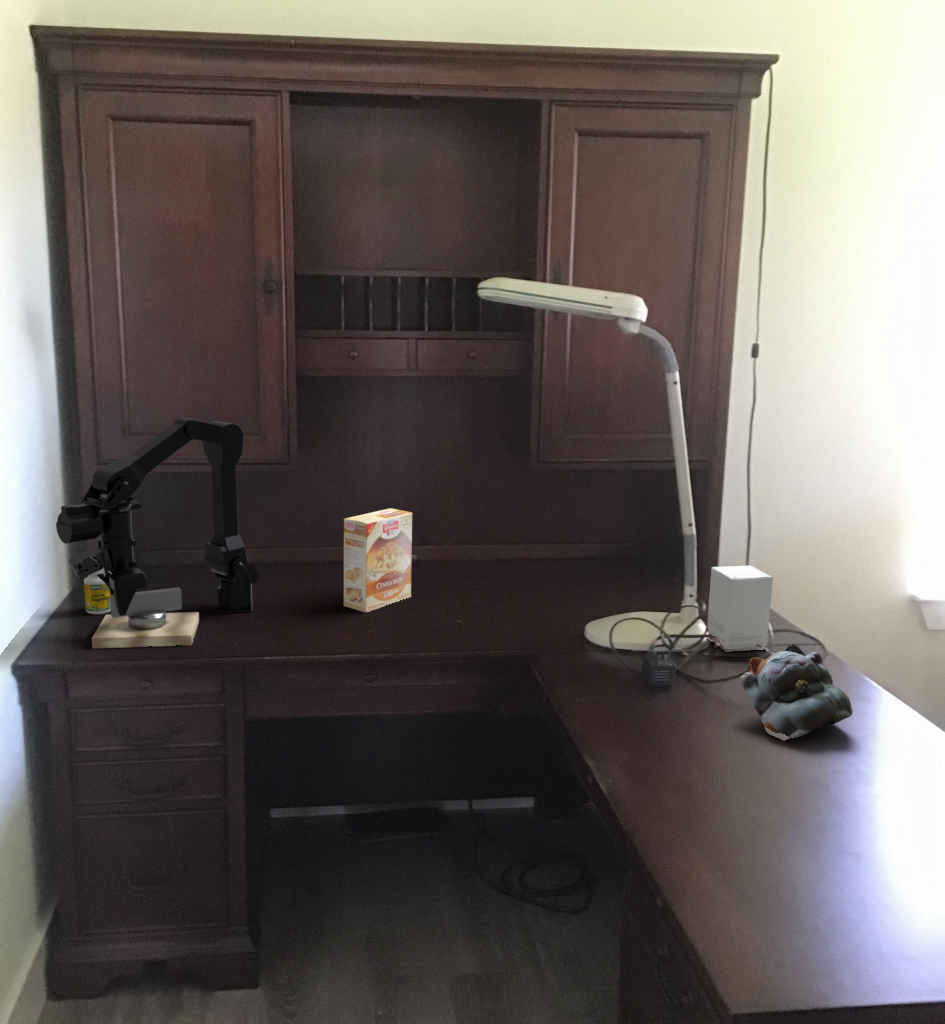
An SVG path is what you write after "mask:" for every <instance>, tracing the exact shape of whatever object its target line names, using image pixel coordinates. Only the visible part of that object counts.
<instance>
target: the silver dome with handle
mask: <svg viewBox="0 0 945 1024" xmlns="http://www.w3.org/2000/svg"><path fill="white" fill-rule="evenodd" d="M182 599H183V598H182V589H181V588H180V587H178V586H177V587H172V588H171V587H170V588H161V589H152V590H144V591H136V592H135V594H134V597H133V599H132V601H131V603H130V606H129V608H128V610H127V612H126V614H125V615H122V616H120V615H119V612H118V608H117V604H116V599H115V595H114V594H110V605H111V611H110V615H111V616H112V618H115V617H123V616H128V625H129V627H130V628H132V629H137V630H150V629H156V628H160V627H162V626H164V625H165V624H166V613H167V612H171V611H172V612H173V611H178V610H179V611H180V610H183V602H182V601H183V600H182Z"/></svg>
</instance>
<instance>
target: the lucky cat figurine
mask: <svg viewBox="0 0 945 1024" xmlns="http://www.w3.org/2000/svg"><path fill="white" fill-rule="evenodd" d="M823 662H824V661H823V657H822V655H821V654H820V653H819V652H817V651H813V652H810V653H808V654H807V655H806V653H805V652H804V651H802V649H801V648H800V647H799V646H797V645H796V644H794V643H792V644H789V645H788V646H787V647H786V648H785V649H784V650H783V651H781V650H780V651H777V652H775V653H774V654H772V655H769V656H768V657H767V658H766V659H764V658H760V657H758V656H756V657H755V656H754V657H751V658H750V660H749V665H748V666H747V670H746V671H745V672H744V673H743V674H742V675H741V676H740V677H739V680H740V684H741V687H742V688H743V690H744V692H745V695H746V696H747V698H748V699H749V700H750V703H751V704H752V706H753V708H754V709H755V710H756V712H757V714H758V716H759V718H760V720H761V722H762V726H763V725H764V726H765V727H766V728H768V729H770V730H771V731H773V732H775V733H782V734H785V735H786V736H788V737H789V740H791V739H790V738H792V739H796V738H800V737H802V736H805V735H806V734H809V733H812V732H814V731H817V730H820V729H822V728H826V727H830V726H833V725H835V724H837V723H840V722H842V721H843V720H845V719H848V718H851V716H853V707H852V704H851V700H850V698H849V696H848V695H847V694H846V692H845V691H843V689H840V688H839V687H837V686H835V685H834V684H833V682H834V681H833V678H832V675H831V673H830V671H829V669H828V668H827V667H826V666H825V665H824V663H823Z"/></svg>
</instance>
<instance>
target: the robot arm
mask: <svg viewBox="0 0 945 1024" xmlns="http://www.w3.org/2000/svg"><path fill="white" fill-rule="evenodd" d="M244 439H245V436H244V431H243V429H242V428H241V427H239V425H237V424H235V423H230V422H224V421H219V420H212V421H209V422H203V421H198V420H197V419H194V418H189V417H184V416H183V417H179V418H177V419H175V420H174V421H173V423H172V424H171V425H169V426H168V427H167V428H165V429H164V430H162V432H160V433H158V434H157V435H156V436H155V437H153V438H152V439H150V440H149V441H148V442H146V443H144V445H143V446H141V447H139V448H138V449H137V450H136V451H134V453H132V454H130V455H128V456H127V457H125V458H124V457H123V458H121V459H119V460H118V459H117V460H114V461H112V462H109V463H108V464H105V465H104V466H102V467H99V468H98V469H97V470H96V471H95V472H94V473H93V475H92V482H91V484H90V486H89V488H88V489H87V490H86V493H85V494H84V496H83V497H82V499H81V501H80V504H75V505H74V504H73V505H72V504H71V505H70V504H68V505H67V504H65V505H62V506H60V510H61V512H60V513H59V514H58V516H57V520H56V523H55V528H56V532H57V536H58V538H59V539H60V541H61V542H62V543H63V544H73V543H77V542H78V543H79V542H84V541H88V540H89V541H90V540H93V539H97V540H95V541H96V544H95V546H96V547H94V548H90V549H88V550H85V551H83V552H81V553H79V554H77V555H74V556H73V557H70V558H69V559H68V562H69V565H70V567H71V568H72V571H73V573H74V576H76V577H77V578H78V580H84V579H85V578H87V577H88V576H89V575H91V574H93V573H95V572H97V571H99V570H101V574H98V575H97V576H98V577H99V578H100V579H101V580H102V581H103V582H105V584H106V585H107V586H108V589H109V592H110V594H114V595H115V599H116V604H117V608H118V612H119V615H120V616H122V615H125V614H126V612H127V610H128V608H129V606H130V603H131V601H132V599H133V597H134V594H135V592H137V590H139V589H144V588H145V589H146V588H148V587H150V584H149V582H150V581H149V576H148V575H147V574H146V573H145V572H144V571H142V570H141V569H139V568H138V563H137V560H136V559H134V556H135V555H134V547H136V546H137V540H136V539H134V537H133V522H132V521H133V520H132V518H133V517H132V511H134V510H141V509H142V508H143V505H142V504H141V503H139V502H138V501H137V500H136V499H135V498H134V497H133V495H135V494H136V493H137V491H138V490H139V489H140V488H141V487H142V485H143V483H144V481H145V478H146V477H148V475H149V474H150V473H151V472H152V471H154V470H155V469H156V468H158V467H159V466H160V465H161V464H164V462H165V461H166V460H168V459H169V458H171V457H172V456H173V455H174V454H176V453H177V452H179V450H181V449H182V448H184V447H185V446H186V445H188V444H189V443H190V442H191V441H193V440H196V441H201V444H202V447H203V451H204V454H205V456H206V458H207V460H208V462H209V464H210V466H211V484H212V485H211V486H212V487H211V488H212V506H213V507H212V508H213V530H214V532H213V536H212V538H211V540H210V542H209V541H207V542H204V544H203V548H204V552H205V553H204V554H205V555H204V559H203V562H205V563H206V564H207V568H208V569H209V570H211V571H212V573H213V576H214V578H215V579H218V580H220V583H219V584H220V585H219V586H218V588H217V602H218V603H217V605H218V606H217V607H218V608H219V609H220V610H219V612H220V613H221V614H222V613H223V614H224V613H225V614H226V613H251V612H253V606H254V601H253V586H252V585H253V584H254V583H255V584H256V583H257V582H258V580H259V576H260V572H259V570H257V568H255V567H254V566H253V565H252V564H251V563H250V562H249V558H248V554H247V552H248V551H247V547H246V545H245V544H244V541H243V540H242V538H241V536H240V534H239V514H238V513H239V511H238V510H239V509H238V507H239V506H238V482H237V465H238V462H239V461H240V459H241V457H242V454H243V449H244V443H245V442H244V441H245V440H244ZM103 498H104V499H103ZM99 536H100V537H99Z"/></svg>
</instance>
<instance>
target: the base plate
mask: <svg viewBox="0 0 945 1024" xmlns="http://www.w3.org/2000/svg"><path fill="white" fill-rule="evenodd" d="M199 623H200V612H198V611H193V612H191V611H190V612H189V611H188V612H187V611H186V612H166V624H165V625H164V626H162V627H160V628H156V629H150V630H137V629H132V628H130V627H129V625H128V616H123V617H115V618H112V616H111V614H105V615H104V617H103V619H102V621H101V623H99V626H98V627H97V629H96V630H95V632H94V634H93V636H92V637H91V645H92V646H91V647H92V649H113V648H115V649H117V648H118V649H119V648H144V647H146V648H147V647H149V646H152V647H177V646H176V645H179V646H180V645H182V646H192V645H193V642H194V640H193V639H195V636H196V633H197V629H198V627H199Z"/></svg>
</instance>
